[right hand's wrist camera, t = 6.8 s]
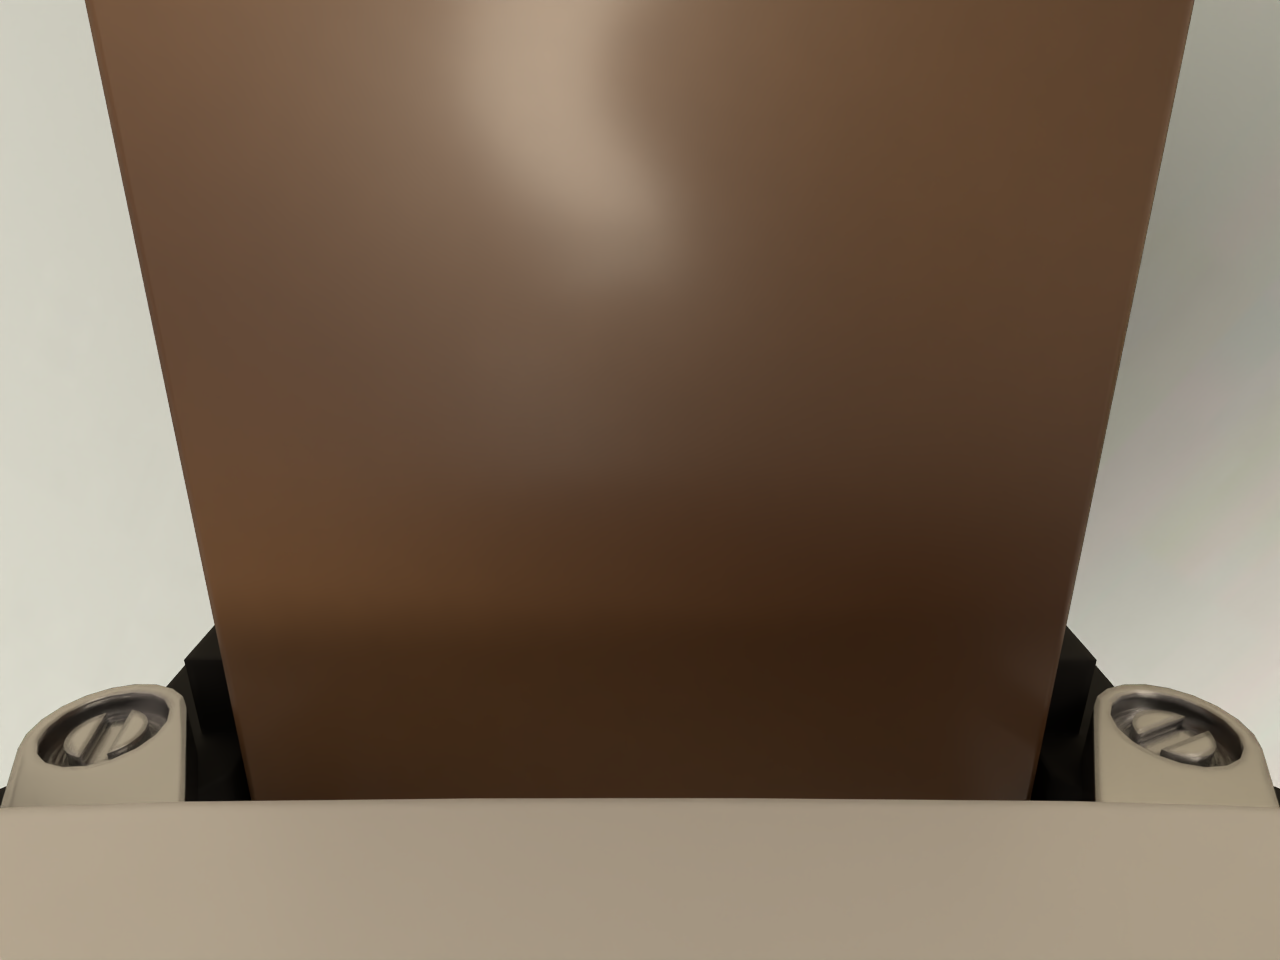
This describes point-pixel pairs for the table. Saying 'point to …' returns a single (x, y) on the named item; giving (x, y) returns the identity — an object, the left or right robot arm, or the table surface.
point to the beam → (640, 376)
